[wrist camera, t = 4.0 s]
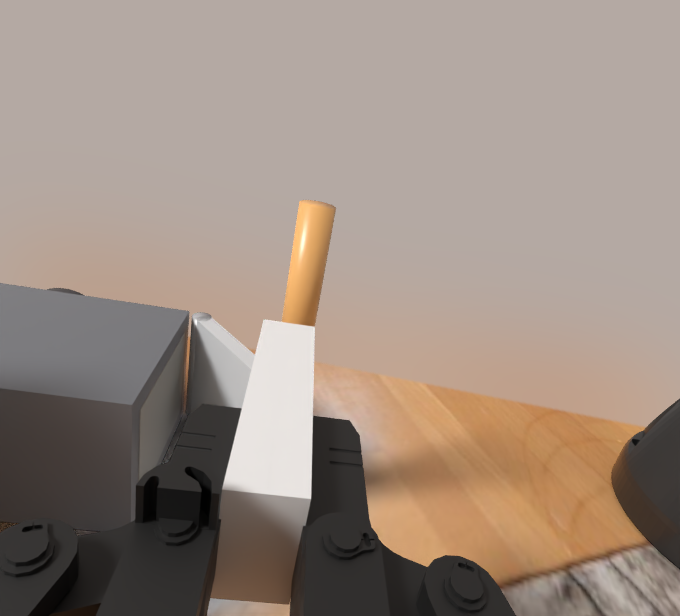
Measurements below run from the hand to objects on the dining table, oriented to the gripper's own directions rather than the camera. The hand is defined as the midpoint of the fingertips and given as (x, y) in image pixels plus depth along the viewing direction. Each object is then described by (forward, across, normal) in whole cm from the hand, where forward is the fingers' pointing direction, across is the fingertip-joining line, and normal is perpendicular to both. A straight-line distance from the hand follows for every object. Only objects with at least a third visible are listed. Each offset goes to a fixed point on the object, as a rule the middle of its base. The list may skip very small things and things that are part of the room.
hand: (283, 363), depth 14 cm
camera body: (+12, -13, -14) cm, 23 cm away
